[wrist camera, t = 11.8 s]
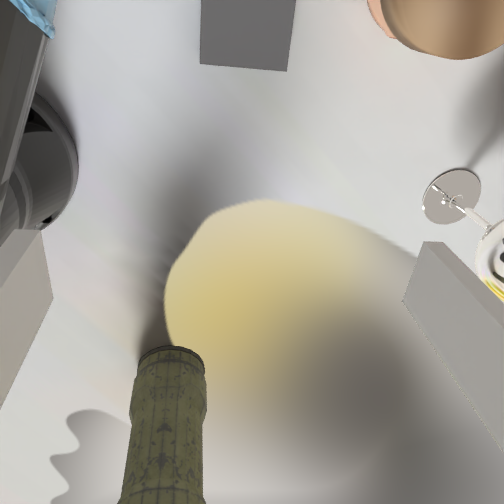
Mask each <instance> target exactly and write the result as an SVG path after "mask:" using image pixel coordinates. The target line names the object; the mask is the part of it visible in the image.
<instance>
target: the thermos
mask: <svg viewBox="0 0 504 504" xmlns="http://www.w3.org/2000/svg"><path fill="white" fill-rule="evenodd" d="M204 374H205V368H204V364H203V361H202V359H201V358H200V356H199V355H198V354H196V353H195V352H193V351H192V350H190V349H187V348H184V347H180V346H164V347H159V348H156V349H154V350H151V351H149V352H148V353H147V354H146V355H144V356H143V357H142V359H141V360H140V362H139V364H138V370H137V376H136V378H135V379H134V385H133V391H132V397H131V403H130V411H129V416H130V420H131V424H132V428H131V434H130V441H129V448H128V454H127V461H126V467H125V473H124V480H123V486H122V493H121V498H120V500H119V501H118V503H117V504H206V502H205V500H204V498H203V463H202V424H203V421H204V419H205V415H206V411H207V402H206V401H207V399H206V381H205V377H204Z"/></svg>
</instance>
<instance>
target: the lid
mask: <svg viewBox="0 0 504 504" xmlns="http://www.w3.org/2000/svg"><path fill="white" fill-rule="evenodd" d="M380 4H381V10H382V13H383V16H384V19H385V21H386V24H387V26H388V28H389V29H390V31H391V32H392V34H393V35H394V36H395V37H396V38H397V39H398V40H399V41H400V42H401V43H402V44H404V45H405V46H407V47H409V48H410V49H413V50H416V51H418V52H422V53H426V54H430V55H434V56H438V57H442V58H447V59H453V60H463V59H471V58H474V57H478V56H481V55H484V54H486V53H488V52H490V51H492V50H494V49H496V48H498V47H499V46H501V45H502V44H504V0H380Z"/></svg>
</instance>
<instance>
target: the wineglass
mask: <svg viewBox="0 0 504 504" xmlns="http://www.w3.org/2000/svg"><path fill="white" fill-rule="evenodd" d="M480 193H481V186H480V182H479V180H478V178H477V177H476V176H475V175H474V174H472V173H471V172H469V171H465V170H454V171H450V172H447V173H445V174H443V175H441V176H440V177H438V178H437V179H436V180H435V181H434V182H433V183H432V184H431V185H430V186H429V187H428V189H427V191H426V193H425V195H424V198H423V203H422V207H423V212H424V214H425V216H426V217H427V218H428V219H429V220H430V221H432V222H434V223H436V224H451V223H454V222H457V221H459V220H461V219H462V218H464V217H465V216H469V217H470V218H471V219H472V220H473V221H475V222H476V223H477V224H478V225H479V226H481V227H482V228H483V229H484V230H485V231H486V232H485V233H484V235H483V236H482V238H481V239H480V241H479V243H478V246H477V249H476V253H475V270H476V274H477V277H478V278H479V279H480V280H481V281H482V282H483V283H484V284H485V285H486V286H487V287H488V288H489V289H490V290H491V291H492V292H493V293H494V294H495V295H496V296H497V297H498V298H499V299H500V300H501V301H502V302H503V303H504V218H503V219H501V220H499V221H498V222H496V223H495V224H491V223H490V222H489V221H487V220H486V219H485V218H483V217H482V216H481V215H479V214H478V213H477V212H476V211H474V210H473V208H474V207H475V206H476V204H477V202H478V200H479V197H480Z"/></svg>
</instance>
